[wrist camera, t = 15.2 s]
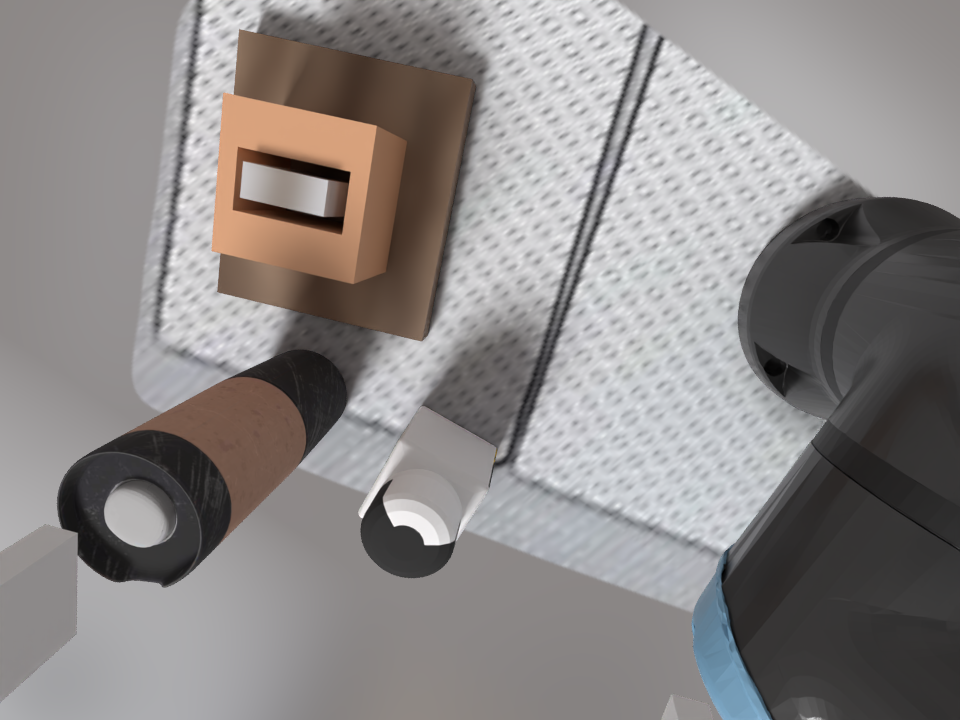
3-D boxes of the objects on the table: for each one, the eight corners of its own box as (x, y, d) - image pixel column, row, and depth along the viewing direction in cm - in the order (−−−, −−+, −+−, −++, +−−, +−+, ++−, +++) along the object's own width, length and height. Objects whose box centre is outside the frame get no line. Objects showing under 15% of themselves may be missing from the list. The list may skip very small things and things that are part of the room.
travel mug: (302, 326, 44) (112, 415, 25) (369, 395, 45) (237, 534, 26) (242, 386, 46) (24, 512, 27) (308, 452, 47) (142, 619, 28)
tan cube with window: (407, 141, 37) (376, 125, 31) (385, 271, 40) (353, 284, 33) (280, 113, 38) (223, 92, 31) (267, 244, 40) (211, 251, 34)
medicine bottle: (457, 513, 47) (428, 612, 35) (383, 471, 46) (329, 557, 35) (499, 446, 45) (482, 528, 33) (422, 403, 44) (378, 469, 33)
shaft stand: (476, 86, 38) (452, 43, 28) (427, 335, 43) (393, 371, 33) (254, 38, 39) (158, -19, 29) (231, 288, 44) (143, 310, 34)
